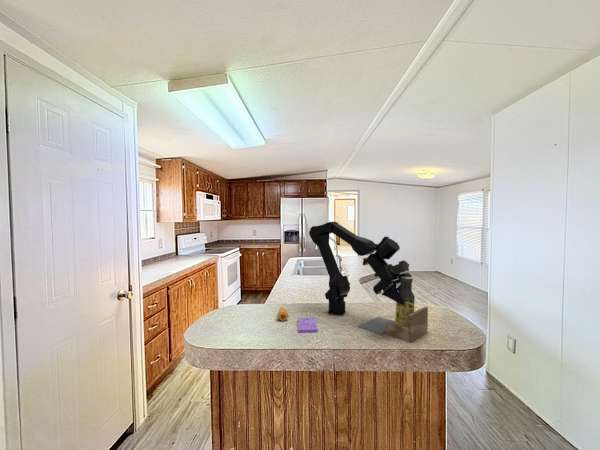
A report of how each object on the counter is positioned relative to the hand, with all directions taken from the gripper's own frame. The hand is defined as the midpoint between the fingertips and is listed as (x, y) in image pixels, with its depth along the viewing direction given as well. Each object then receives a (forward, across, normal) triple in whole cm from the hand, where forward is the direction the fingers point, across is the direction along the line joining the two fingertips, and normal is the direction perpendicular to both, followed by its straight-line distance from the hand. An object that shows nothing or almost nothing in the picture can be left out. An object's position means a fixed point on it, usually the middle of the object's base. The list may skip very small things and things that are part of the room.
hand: (408, 302), depth 106 cm
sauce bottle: (+7, 0, +9) cm, 11 cm away
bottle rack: (+7, 0, +9) cm, 11 cm away
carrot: (-26, -17, +42) cm, 52 cm away
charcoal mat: (0, 0, +16) cm, 16 cm away
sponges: (-13, -20, +30) cm, 38 cm away
